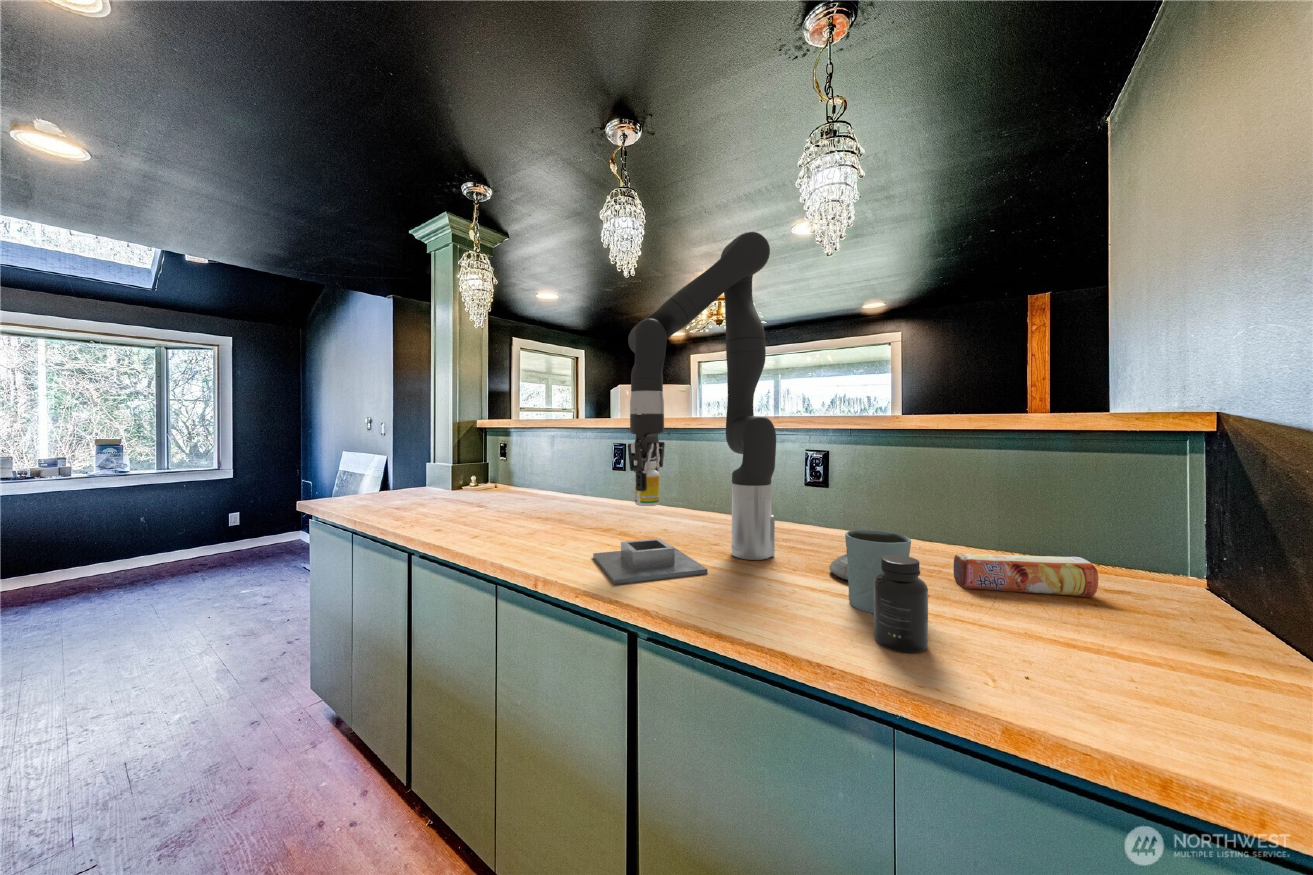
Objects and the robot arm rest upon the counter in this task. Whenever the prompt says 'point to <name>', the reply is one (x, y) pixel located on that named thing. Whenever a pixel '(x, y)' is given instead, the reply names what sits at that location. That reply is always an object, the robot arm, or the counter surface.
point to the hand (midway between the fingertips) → (647, 488)
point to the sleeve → (647, 562)
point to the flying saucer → (840, 567)
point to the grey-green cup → (869, 562)
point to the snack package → (1027, 574)
